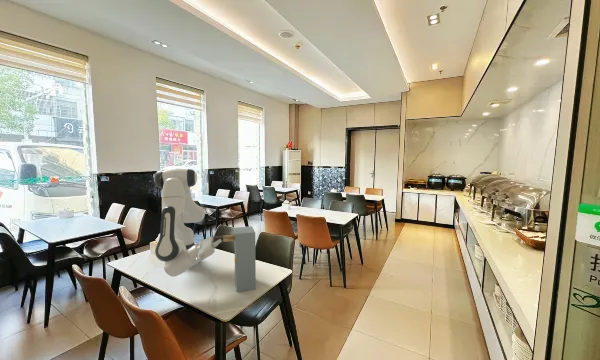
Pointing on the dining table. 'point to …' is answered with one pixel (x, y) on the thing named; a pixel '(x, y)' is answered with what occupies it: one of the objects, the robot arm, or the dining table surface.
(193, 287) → the dining table surface
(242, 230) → the cabinet
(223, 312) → the dining table surface
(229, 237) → the lever
